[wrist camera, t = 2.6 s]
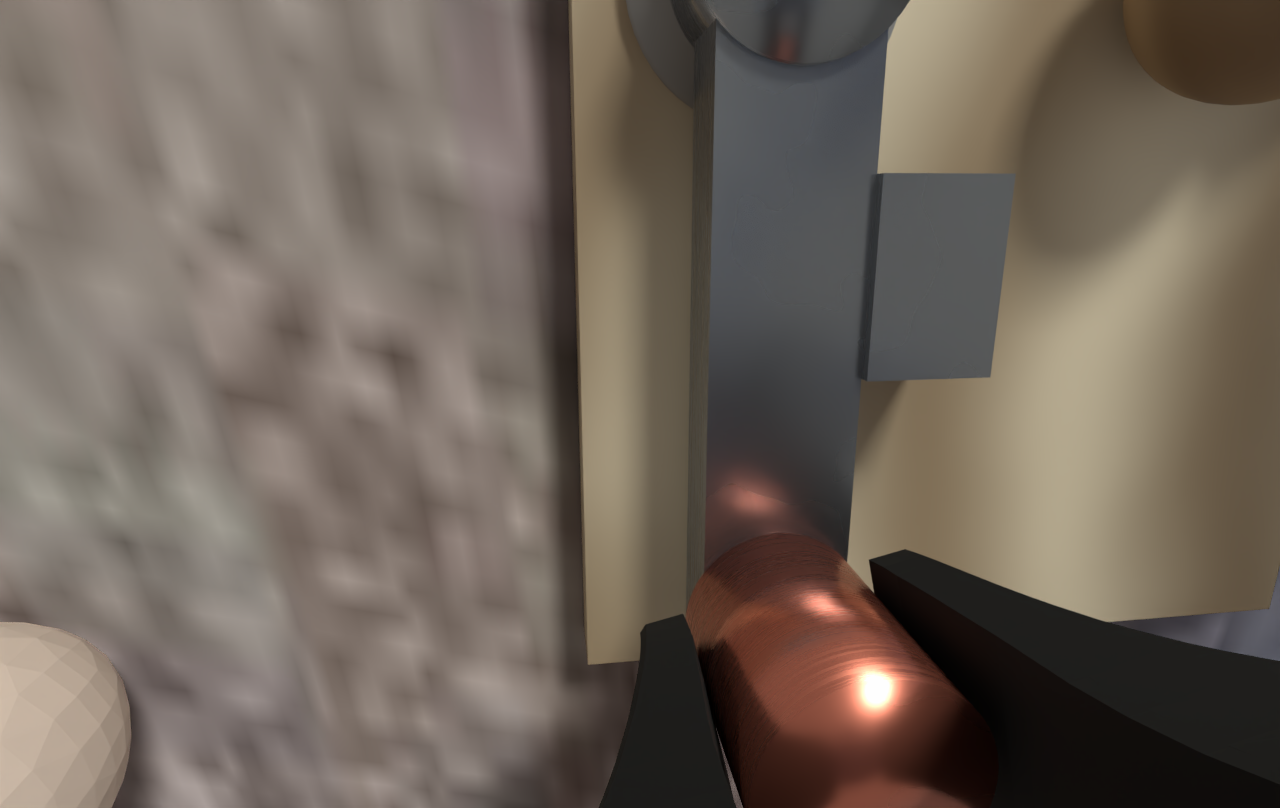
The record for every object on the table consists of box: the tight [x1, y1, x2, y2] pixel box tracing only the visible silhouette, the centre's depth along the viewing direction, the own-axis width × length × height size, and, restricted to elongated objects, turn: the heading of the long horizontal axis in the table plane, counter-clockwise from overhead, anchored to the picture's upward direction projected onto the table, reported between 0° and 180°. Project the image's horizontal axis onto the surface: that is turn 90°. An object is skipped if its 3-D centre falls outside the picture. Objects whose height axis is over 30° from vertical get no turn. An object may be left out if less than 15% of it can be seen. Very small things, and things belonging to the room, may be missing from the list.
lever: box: [671, 0, 1016, 808], centre depth 10 cm, size 5×13×5 cm, turn 0°
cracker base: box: [568, 0, 1280, 665], centre depth 12 cm, size 15×15×5 cm
